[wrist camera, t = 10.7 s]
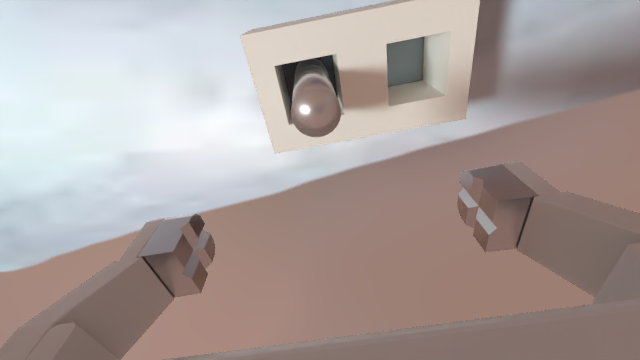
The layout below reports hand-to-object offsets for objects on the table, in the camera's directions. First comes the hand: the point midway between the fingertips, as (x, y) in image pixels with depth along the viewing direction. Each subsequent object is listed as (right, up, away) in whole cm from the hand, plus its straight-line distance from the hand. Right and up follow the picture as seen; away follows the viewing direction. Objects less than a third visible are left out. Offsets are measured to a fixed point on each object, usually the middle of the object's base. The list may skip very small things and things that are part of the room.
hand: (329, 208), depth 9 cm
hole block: (+3, +11, +16) cm, 20 cm away
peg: (-1, +10, +16) cm, 19 cm away
